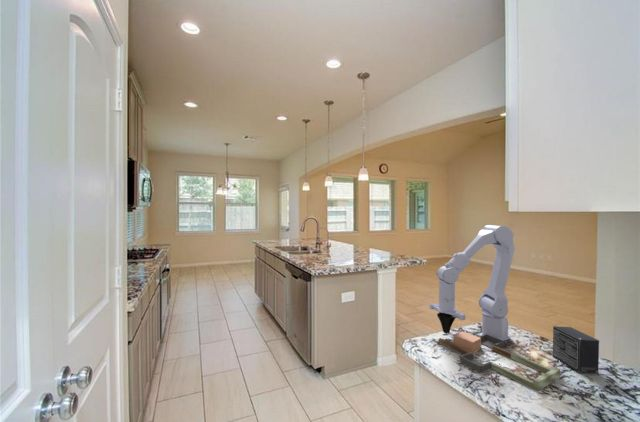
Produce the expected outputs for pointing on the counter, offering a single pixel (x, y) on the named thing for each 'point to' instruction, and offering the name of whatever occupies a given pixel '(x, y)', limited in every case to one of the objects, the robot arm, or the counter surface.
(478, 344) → the block
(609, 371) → the counter surface
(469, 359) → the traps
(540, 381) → the lane
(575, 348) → the small box
